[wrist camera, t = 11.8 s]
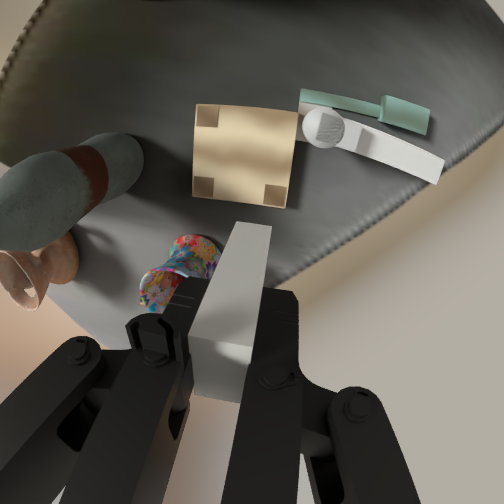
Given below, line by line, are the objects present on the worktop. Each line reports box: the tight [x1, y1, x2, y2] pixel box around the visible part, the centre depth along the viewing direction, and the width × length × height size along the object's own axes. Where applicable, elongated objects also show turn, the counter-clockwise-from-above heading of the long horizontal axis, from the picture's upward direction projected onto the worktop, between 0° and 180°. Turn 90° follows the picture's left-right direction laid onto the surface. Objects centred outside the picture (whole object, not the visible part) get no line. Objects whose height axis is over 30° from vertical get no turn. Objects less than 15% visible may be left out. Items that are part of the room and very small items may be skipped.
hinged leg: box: [302, 107, 445, 185], centre depth 27 cm, size 17×4×8 cm, turn 78°
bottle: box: [0, 132, 144, 252], centre depth 23 cm, size 9×9×30 cm
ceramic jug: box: [0, 230, 79, 311], centre depth 39 cm, size 18×14×14 cm
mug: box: [139, 234, 221, 314], centre depth 38 cm, size 12×9×11 cm
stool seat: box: [192, 89, 430, 208], centre depth 29 cm, size 16×28×7 cm, turn 84°
